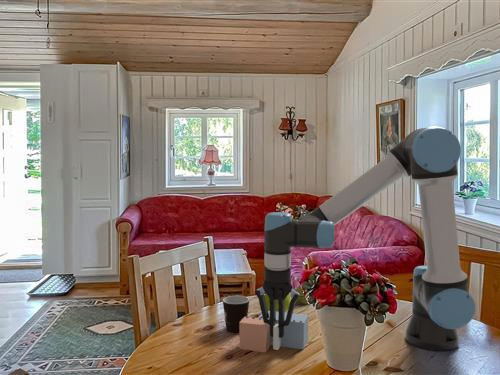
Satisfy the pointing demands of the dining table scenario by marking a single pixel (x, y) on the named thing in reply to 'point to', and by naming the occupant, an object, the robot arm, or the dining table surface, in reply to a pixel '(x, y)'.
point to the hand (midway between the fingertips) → (276, 347)
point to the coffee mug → (235, 312)
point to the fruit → (287, 303)
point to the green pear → (301, 298)
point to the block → (254, 334)
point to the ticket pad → (293, 331)
